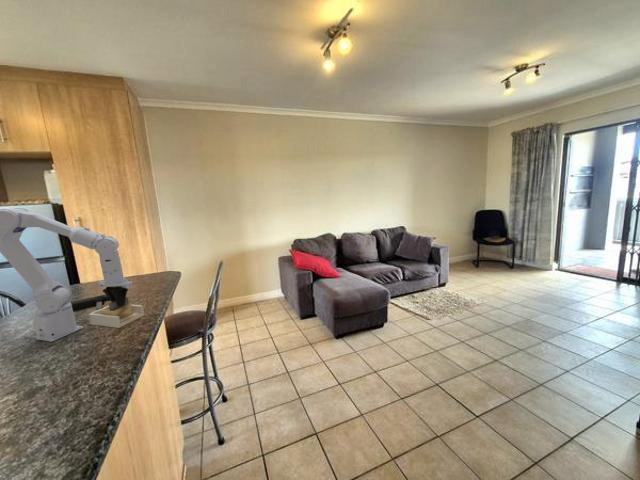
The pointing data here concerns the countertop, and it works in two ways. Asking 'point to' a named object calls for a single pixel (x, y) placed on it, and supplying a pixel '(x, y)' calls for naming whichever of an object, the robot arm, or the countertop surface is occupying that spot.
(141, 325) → the countertop surface
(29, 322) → the countertop surface
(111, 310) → the tan block with handle
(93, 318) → the bay
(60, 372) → the countertop surface
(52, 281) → the robot arm
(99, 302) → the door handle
